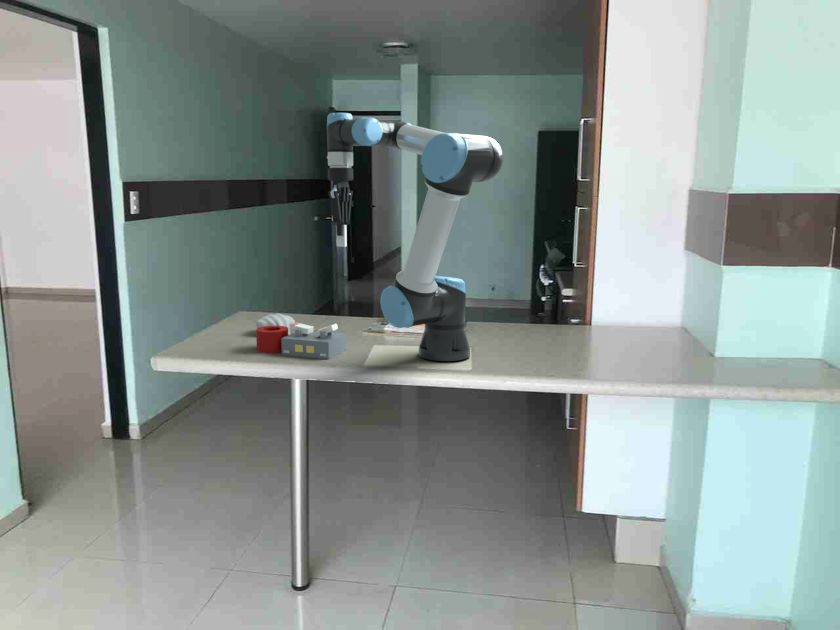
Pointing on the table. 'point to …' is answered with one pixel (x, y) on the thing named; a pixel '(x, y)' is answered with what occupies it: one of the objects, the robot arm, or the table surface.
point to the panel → (314, 344)
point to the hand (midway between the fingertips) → (341, 246)
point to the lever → (270, 338)
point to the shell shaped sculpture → (275, 321)
